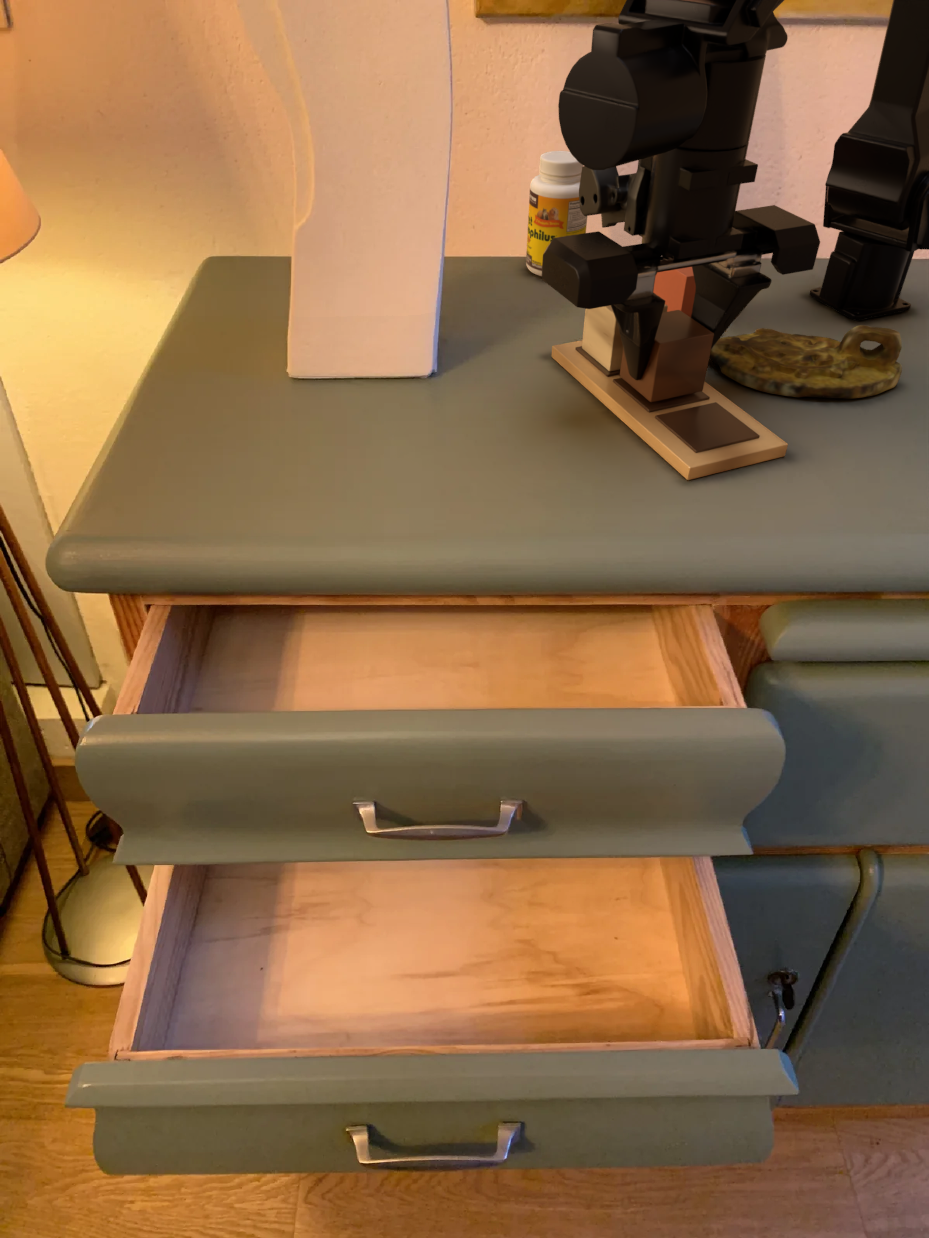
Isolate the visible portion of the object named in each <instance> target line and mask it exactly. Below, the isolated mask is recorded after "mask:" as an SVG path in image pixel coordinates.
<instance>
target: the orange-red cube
mask: <svg viewBox="0 0 929 1238" xmlns="http://www.w3.org/2000/svg"><path fill="white" fill-rule="evenodd" d="M695 291H696V285H695V280H694V275H693V270H692V267H687V268H681V269H675V270H669V271H663V272H657V274H656V276H655V283H654V290H653V293H655V294H656V295H658V296H659V297H661V298H662V299H664V300H665V304H666V305H667V306H668V308H667V312H669V311H674V310H680V311H682V312H683V313H685V314H686V315H688V316H689V317H691V314H692V308H693V302H694V297H695Z"/></svg>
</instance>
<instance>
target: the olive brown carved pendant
mask: <svg viewBox="0 0 929 1238" xmlns="http://www.w3.org/2000/svg"><path fill="white" fill-rule="evenodd" d="M865 341H866V342H873V343H877V344H879V345H878V346H876V347H874V348H872V349H868V348H864V347H862V346H861V344H862V343H863V342H865ZM902 349H903V347H902V337H901V333H900V332H899V331H898V330H895V329H893V328H888V327H877V326H869V325H866V324H865V325H864V324H861V325H860V324H859V325H856V326H854V327H852V328H851V329H849V330H848V331H847V332H846V333H844V334H843V337H842V339H841V340H838V339H834V338H831V337H825V336H824V337H823V336H819V335H808V334H807V335H806V334H798V333H787V332H782V331H778V330H775V329H772V328H765V327H762V328H756V329H755V331H754V332H752V333H743V334H742V333H741V334H739V335H731V336H723V337H722V336H721V337H720V339H719V340H718V341H717V343H716V344H715V345H714V346H713V348H712V349H711V351H710V356H709V359H710V360H711V361H712V362H713V363H714V364H716V365H717V366H719V369H720V372H721V373H722V374H723V375H725V376H726V377H728V378H729V379H731V380H733V381H735V382H736V383H738V384H740V385H742V386H744V387H748V388H751V389H753V390H756V391H760V392H763V393H768V394H771V395H779V396H785V397H792V398H804V397H808V398H824V399H846V400H847V399H848V400H851V399H861V398H867V397H872V396H876V395H879V394H881V393H883V392H885V391H888V390H891V389H893V388H895V387H896V386H897V385H898V383H899V380H900V378H901V375H902V371H903V365H902V364H901V363H900V362H898V361H897V360H898V359H899V358H900V354H901V351H902Z"/></svg>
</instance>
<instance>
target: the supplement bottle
mask: <svg viewBox="0 0 929 1238" xmlns="http://www.w3.org/2000/svg"><path fill="white" fill-rule="evenodd" d="M539 158H540V159H539V167H538V174H537V175H535V176H534V177H533V178H532V179H531V181H530V185H529V196H528V197H529V198H528V199H529V200H528V214H527V234H526V235H527V237H526V254H525V257H526V258H525V264H526V267H527V269H528V270H529V271H530V272H531V273H532V274H533V275H534V274H535V275H536V276H539V277H542V262H543V254H544V252H545V250H546V248H547V247H548V245H549V244H550V243H551V241H552V240H553V239H554V238H557V237H563V236H570V235H577V234H584V233H587V225H588V216H584V215H583V214H582V212H581V210H580V203H579V186H580V179H581V172H582V167H583V166H584V165H582V164H581V163H579V162H578V161H577V160H576V159H575V158H574V157H573V155H572V154H571V152H570V151H569V150H552V151H551V150H550V151H546V152H544V153H542V154H541V155H540V157H539Z"/></svg>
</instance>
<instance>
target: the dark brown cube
mask: <svg viewBox="0 0 929 1238" xmlns="http://www.w3.org/2000/svg"><path fill="white" fill-rule="evenodd" d="M713 336H714V333H713V332H711V331H710V330H708V329H707V328H705V327H704V326H702V325H701V324H699V323H698V322H696V321H695V320H694V319H692V318H691V317H689V316H688V315H686V314H685V313H683V312H682V311H680V310H674V311H669V312H664V313H662V316H661V319H660V323H659V326H658V330H657V333H656V337H655V340H654V344H653V347H652V351H651V354H650V358H649V361H648V364H647V367H646V369H645V372H644V374H643V376H642V379H641V380H635V379H634V378H632V377H631V376H630V374H629V370H628V366H627V362H626V358H625V353H624V349H623V354H622V361H621V369H620V377H621V378H622V379H624V380H625V381H626V382H627V383H628V384H630V385H631V386H632V387H633V388H634V389H636V390H637V391H638V392H639V393H640V394H641V395H643V396H644V397H645V398H646V399H647V400H649V401H650V402H655V401H660V400H664V399H669V398H673V397H678V396H683V395H687V394H692V393H696V392H701V391H703V387H704V382H706V375H707V372H708V365H709V362H710V361H709V360H710V358H709V356H710V351H711V346H712V341H713Z"/></svg>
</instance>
